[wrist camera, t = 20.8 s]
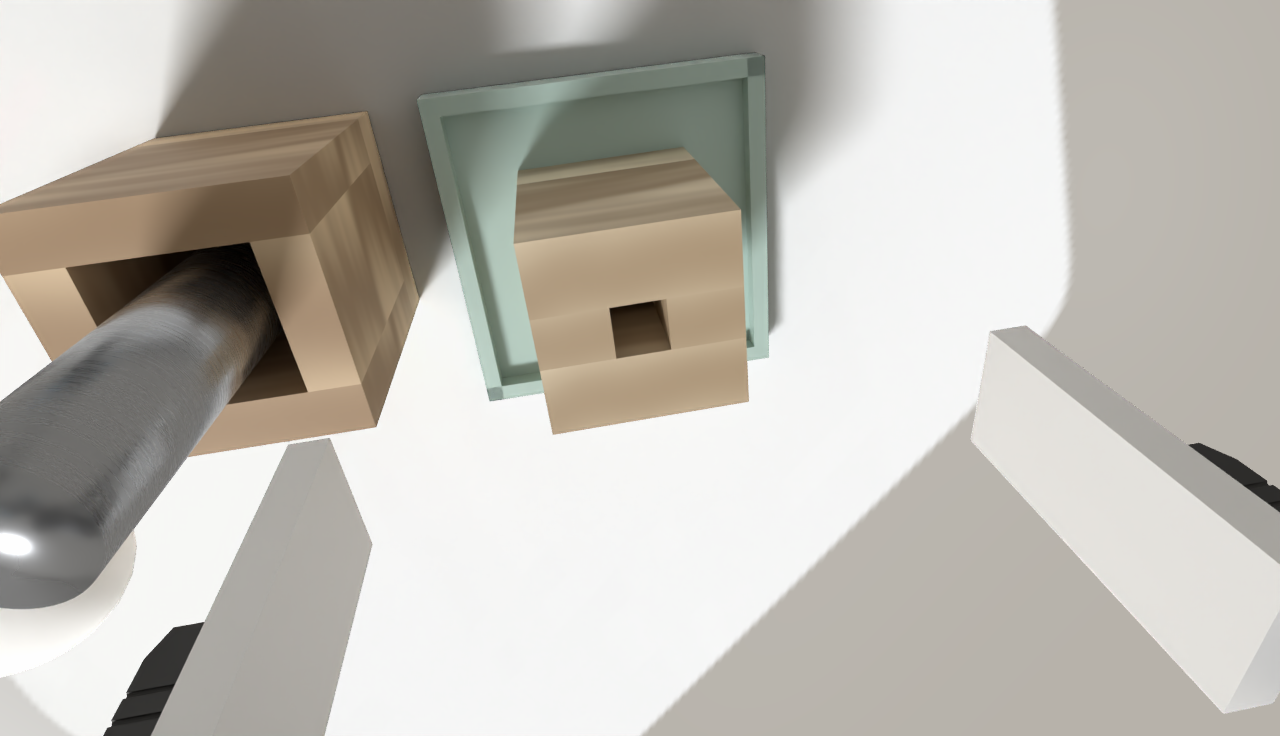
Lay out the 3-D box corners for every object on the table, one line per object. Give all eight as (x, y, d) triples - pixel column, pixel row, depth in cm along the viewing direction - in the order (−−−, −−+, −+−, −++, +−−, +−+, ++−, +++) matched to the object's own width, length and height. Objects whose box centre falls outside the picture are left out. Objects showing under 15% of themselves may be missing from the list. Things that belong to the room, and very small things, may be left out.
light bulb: (220, 369, 28) (59, 574, 18) (216, 501, 31) (74, 739, 21) (21, 336, 26) (-270, 542, 17) (36, 479, 29) (-206, 726, 19)
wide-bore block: (153, 138, 24) (-32, 217, 16) (366, 111, 24) (289, 174, 16) (234, 326, 27) (114, 468, 19) (419, 299, 28) (376, 427, 20)
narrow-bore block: (517, 170, 25) (513, 243, 18) (683, 146, 26) (740, 209, 19) (546, 322, 28) (552, 434, 21) (695, 298, 29) (748, 401, 22)
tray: (421, 94, 24) (416, 100, 23) (755, 52, 25) (764, 55, 24) (491, 386, 30) (489, 401, 29) (760, 344, 31) (768, 357, 30)
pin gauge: (228, 202, 23) (-164, 475, 10) (321, 193, 24) (52, 450, 11) (257, 287, 25) (-55, 621, 12) (345, 277, 25) (133, 595, 12)
